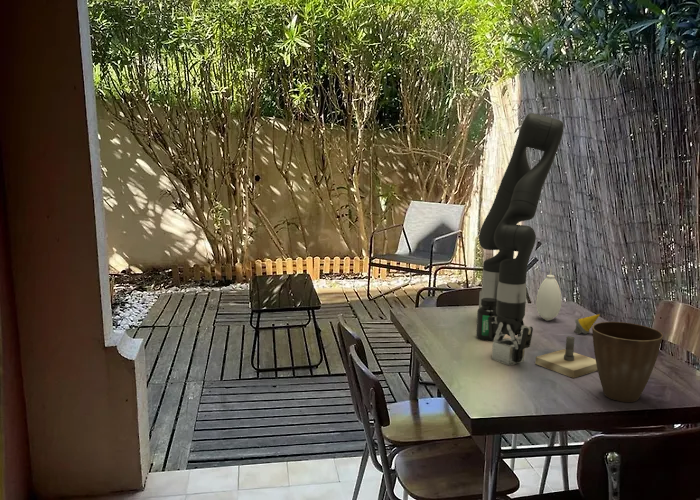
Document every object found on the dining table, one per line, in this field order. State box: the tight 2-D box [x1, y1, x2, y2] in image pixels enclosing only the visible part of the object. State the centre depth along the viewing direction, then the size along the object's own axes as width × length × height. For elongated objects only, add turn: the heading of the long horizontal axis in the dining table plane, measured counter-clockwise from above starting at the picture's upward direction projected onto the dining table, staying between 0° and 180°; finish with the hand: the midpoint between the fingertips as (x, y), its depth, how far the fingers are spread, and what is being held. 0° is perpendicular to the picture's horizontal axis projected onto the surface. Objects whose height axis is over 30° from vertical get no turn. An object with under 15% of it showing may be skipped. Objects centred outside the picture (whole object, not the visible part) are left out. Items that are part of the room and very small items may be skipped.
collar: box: [491, 337, 526, 366], centre depth 166 cm, size 6×6×5 cm
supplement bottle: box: [475, 298, 499, 342], centre depth 185 cm, size 7×7×12 cm
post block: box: [534, 336, 598, 379], centre depth 162 cm, size 12×12×8 cm
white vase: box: [535, 268, 562, 321], centre depth 204 cm, size 8×8×18 cm
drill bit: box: [573, 313, 601, 335], centre depth 191 cm, size 5×5×10 cm
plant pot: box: [591, 321, 664, 403], centre depth 142 cm, size 15×15×16 cm
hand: (507, 357), depth 166 cm, fingers closed on collar, 6 cm apart
